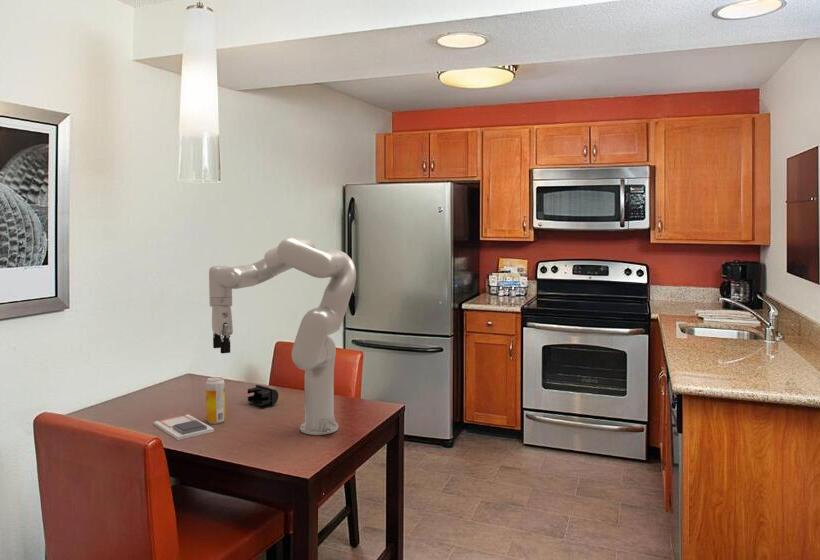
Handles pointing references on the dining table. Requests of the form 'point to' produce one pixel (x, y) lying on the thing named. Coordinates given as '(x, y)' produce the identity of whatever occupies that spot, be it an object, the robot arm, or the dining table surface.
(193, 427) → the stamping board
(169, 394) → the dining table surface
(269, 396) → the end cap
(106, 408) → the dining table surface
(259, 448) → the dining table surface
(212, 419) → the beer can
